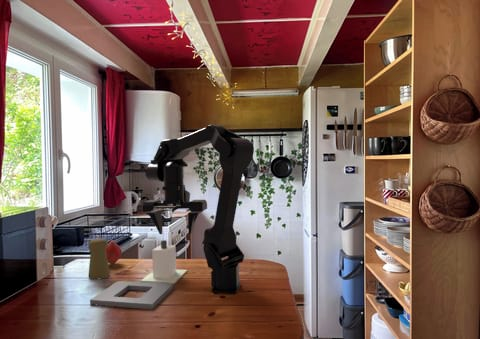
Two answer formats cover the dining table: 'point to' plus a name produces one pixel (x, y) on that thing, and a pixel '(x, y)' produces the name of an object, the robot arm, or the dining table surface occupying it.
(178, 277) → the mat
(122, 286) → the gray rectangular frame
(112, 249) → the onion
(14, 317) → the dining table surface
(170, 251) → the plug
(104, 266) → the olive green tapered block
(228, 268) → the robot arm
